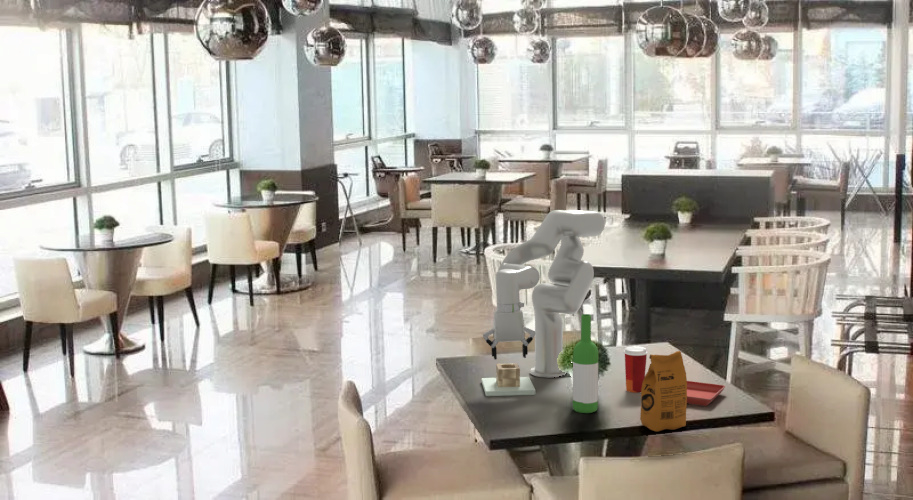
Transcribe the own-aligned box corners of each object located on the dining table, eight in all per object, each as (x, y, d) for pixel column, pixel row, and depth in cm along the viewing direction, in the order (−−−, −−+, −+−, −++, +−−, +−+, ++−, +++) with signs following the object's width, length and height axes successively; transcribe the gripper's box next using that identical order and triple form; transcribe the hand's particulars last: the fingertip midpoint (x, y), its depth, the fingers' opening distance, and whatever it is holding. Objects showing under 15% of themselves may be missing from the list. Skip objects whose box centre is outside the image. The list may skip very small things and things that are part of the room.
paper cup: (649, 388, 368) (650, 347, 366) (643, 394, 361) (644, 352, 359) (626, 385, 371) (627, 344, 369) (619, 392, 364) (620, 350, 362)
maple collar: (517, 380, 373) (517, 363, 372) (519, 386, 366) (519, 368, 365) (496, 381, 372) (496, 363, 371) (498, 387, 366) (498, 369, 365)
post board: (528, 381, 378) (528, 365, 377) (535, 394, 362) (535, 378, 361) (481, 382, 377) (481, 366, 376) (486, 396, 361) (485, 379, 360)
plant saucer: (671, 387, 370) (671, 378, 370) (725, 394, 362) (726, 384, 361) (654, 402, 354) (654, 391, 354) (710, 409, 346) (710, 399, 345)
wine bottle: (578, 405, 350) (579, 311, 346) (601, 408, 346) (603, 313, 342) (568, 411, 344) (569, 316, 339) (591, 415, 340) (592, 318, 335)
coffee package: (635, 423, 332) (637, 351, 328) (671, 418, 336) (673, 347, 333) (653, 433, 323) (655, 359, 319) (690, 428, 327) (692, 354, 324)
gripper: (533, 303, 369) (534, 353, 373) (480, 305, 368) (482, 355, 372) (536, 308, 362) (537, 359, 365) (482, 311, 361) (484, 362, 364)
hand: (509, 357), depth 369 cm, fingers open, 9 cm apart
